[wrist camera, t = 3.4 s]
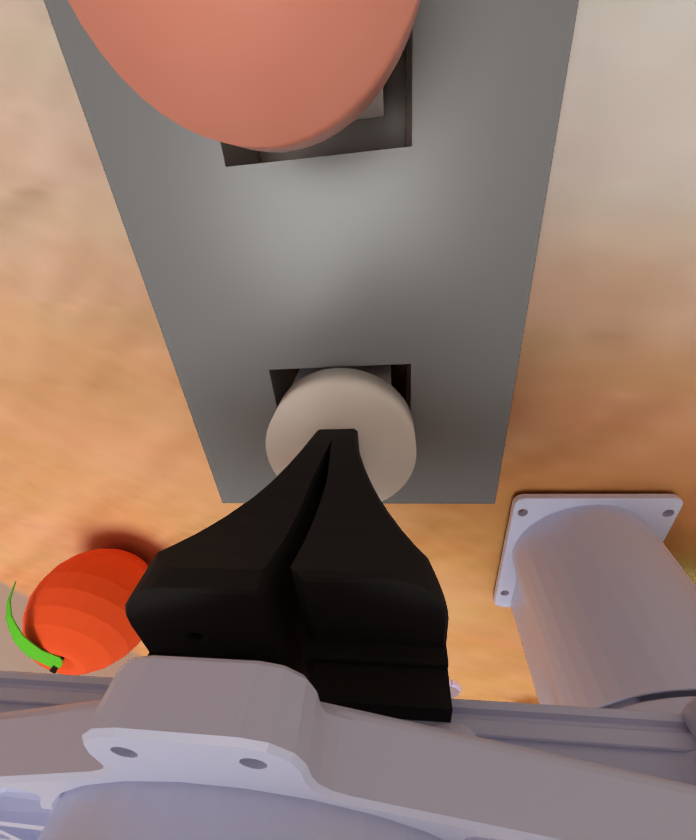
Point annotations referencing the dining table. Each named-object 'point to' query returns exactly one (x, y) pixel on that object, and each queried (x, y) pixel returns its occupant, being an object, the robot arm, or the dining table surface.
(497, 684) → the dining table surface
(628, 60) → the dining table surface
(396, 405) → the plunger white
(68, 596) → the clementine
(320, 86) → the plunger red
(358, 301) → the bar
